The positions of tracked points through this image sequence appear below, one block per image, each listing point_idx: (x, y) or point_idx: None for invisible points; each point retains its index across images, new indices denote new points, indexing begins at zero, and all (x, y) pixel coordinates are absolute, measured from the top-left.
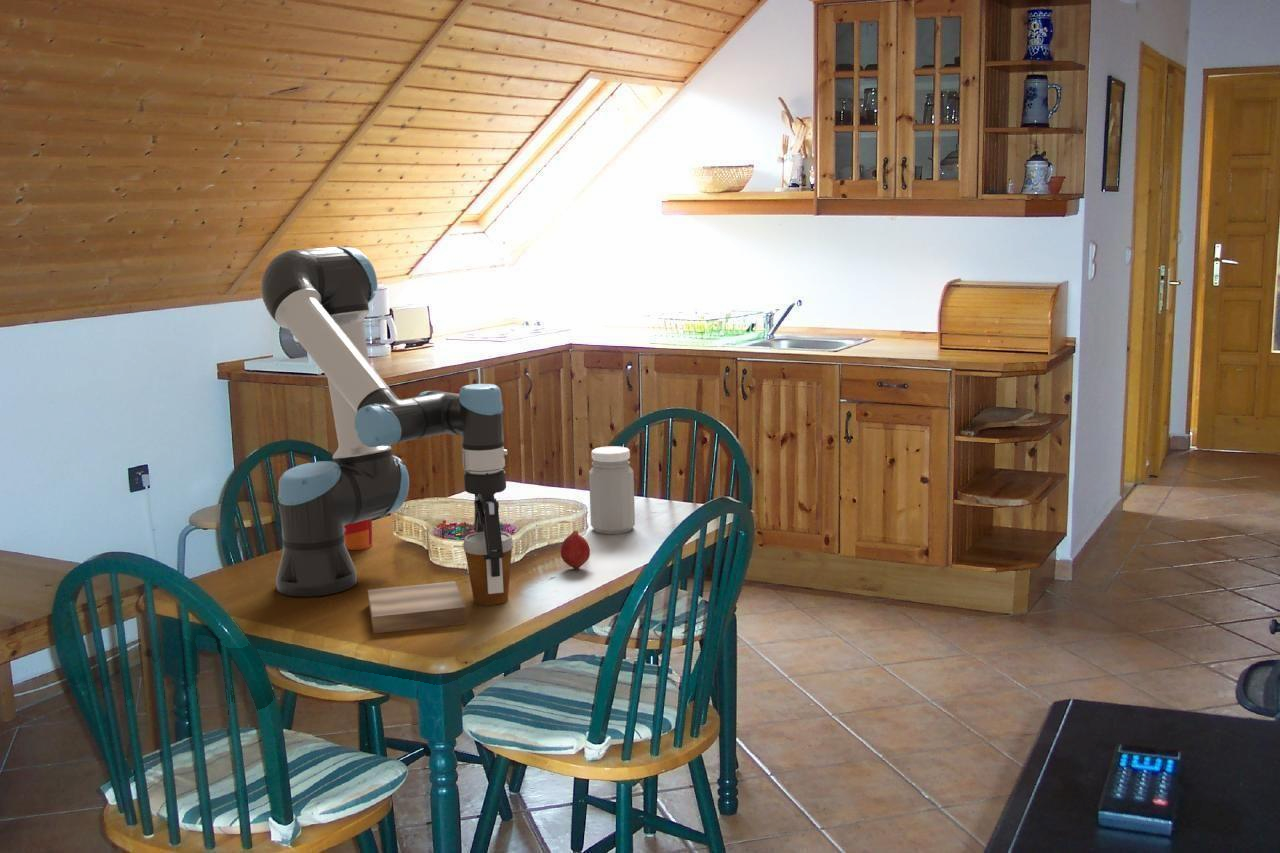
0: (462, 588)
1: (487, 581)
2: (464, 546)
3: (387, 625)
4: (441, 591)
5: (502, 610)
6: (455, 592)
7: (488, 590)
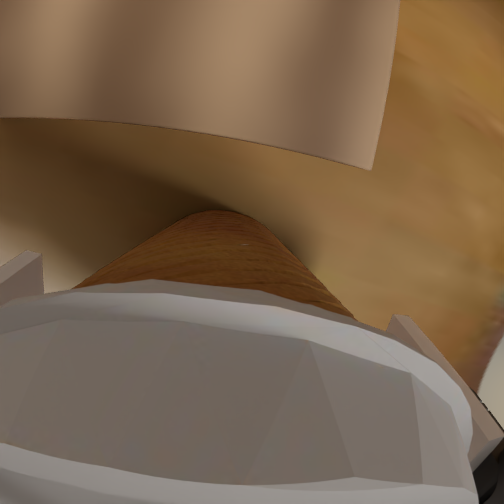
0: (423, 228)
1: (5, 276)
2: (151, 327)
3: None
4: (218, 36)
5: (74, 275)
6: (155, 101)
7: (16, 256)
